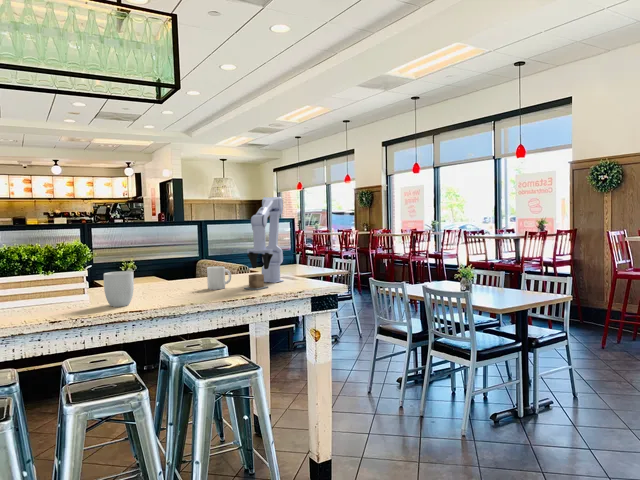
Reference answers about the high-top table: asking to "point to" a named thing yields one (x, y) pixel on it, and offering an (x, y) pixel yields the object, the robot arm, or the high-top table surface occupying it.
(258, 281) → the walnut block
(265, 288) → the slate coaster
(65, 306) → the high-top table surface
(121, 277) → the mug
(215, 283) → the mug
